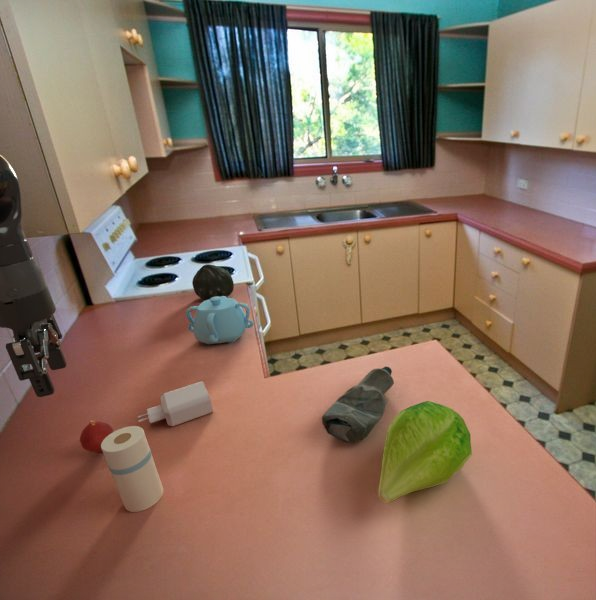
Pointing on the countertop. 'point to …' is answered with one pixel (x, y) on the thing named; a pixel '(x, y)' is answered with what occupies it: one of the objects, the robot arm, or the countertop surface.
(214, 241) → the countertop surface
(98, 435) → the onion
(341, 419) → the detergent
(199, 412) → the charger
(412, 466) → the lettuce
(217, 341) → the decorative pot
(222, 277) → the squash
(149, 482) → the paper towel roll
